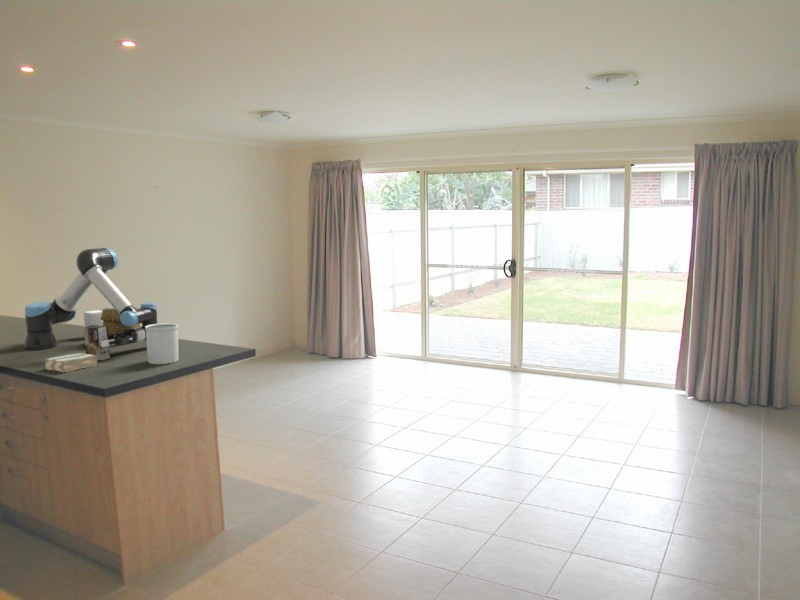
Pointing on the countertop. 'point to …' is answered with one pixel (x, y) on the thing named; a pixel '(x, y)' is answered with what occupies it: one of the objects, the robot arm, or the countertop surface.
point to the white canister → (93, 318)
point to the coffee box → (96, 341)
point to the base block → (71, 362)
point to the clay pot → (114, 321)
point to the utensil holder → (162, 343)
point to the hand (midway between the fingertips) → (93, 342)
